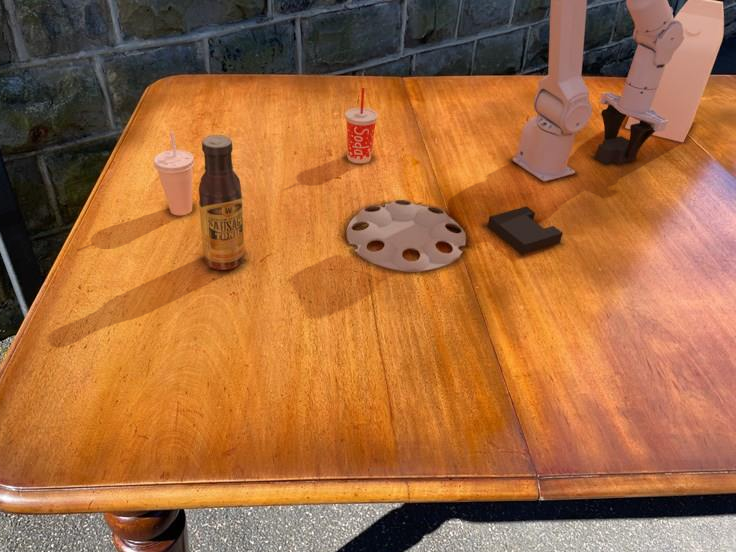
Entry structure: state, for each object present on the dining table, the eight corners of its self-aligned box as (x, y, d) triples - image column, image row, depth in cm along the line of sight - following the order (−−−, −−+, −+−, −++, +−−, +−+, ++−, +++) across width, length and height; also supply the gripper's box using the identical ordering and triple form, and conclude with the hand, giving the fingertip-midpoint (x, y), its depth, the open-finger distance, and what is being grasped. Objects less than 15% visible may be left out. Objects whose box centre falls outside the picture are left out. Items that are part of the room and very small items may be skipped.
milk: (692, 123, 142) (743, -1, 125) (682, 142, 134) (736, 12, 117) (636, 110, 146) (678, -12, 130) (624, 128, 139) (668, 1, 122)
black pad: (487, 226, 107) (489, 216, 106) (524, 215, 110) (526, 205, 109) (521, 255, 101) (524, 244, 100) (559, 242, 104) (563, 232, 103)
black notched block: (590, 156, 128) (594, 142, 126) (616, 149, 131) (621, 135, 129) (609, 166, 125) (613, 153, 123) (635, 159, 127) (640, 146, 125)
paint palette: (400, 192, 115) (401, 182, 114) (489, 237, 105) (491, 227, 103) (321, 233, 104) (322, 223, 103) (412, 288, 94) (414, 277, 93)
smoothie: (207, 205, 110) (198, 129, 101) (185, 223, 105) (174, 146, 96) (176, 196, 112) (165, 121, 103) (154, 214, 107) (140, 137, 98)
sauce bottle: (212, 277, 95) (197, 155, 82) (199, 254, 99) (182, 136, 86) (253, 265, 97) (244, 146, 84) (238, 244, 101) (228, 127, 88)
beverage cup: (338, 161, 123) (341, 91, 114) (350, 148, 128) (353, 79, 119) (368, 167, 122) (373, 97, 113) (378, 154, 126) (384, 85, 117)
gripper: (688, 94, 115) (662, 162, 124) (627, 67, 125) (606, 132, 134) (661, 100, 113) (636, 169, 121) (601, 72, 122) (581, 138, 131)
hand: (619, 150), depth 127 cm, fingers open, 5 cm apart
